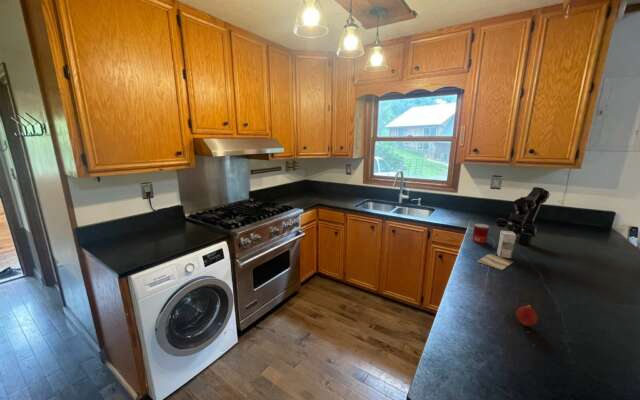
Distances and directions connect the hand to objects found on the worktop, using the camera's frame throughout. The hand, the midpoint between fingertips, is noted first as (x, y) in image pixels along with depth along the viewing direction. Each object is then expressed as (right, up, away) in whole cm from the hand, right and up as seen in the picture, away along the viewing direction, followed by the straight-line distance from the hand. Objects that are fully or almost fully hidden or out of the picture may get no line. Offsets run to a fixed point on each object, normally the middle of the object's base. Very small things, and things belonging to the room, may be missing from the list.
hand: (510, 237), depth 149 cm
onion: (-36, -23, -56) cm, 71 cm away
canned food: (-5, -6, +21) cm, 22 cm away
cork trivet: (-14, -12, -8) cm, 20 cm away
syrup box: (-4, -11, -1) cm, 11 cm away
